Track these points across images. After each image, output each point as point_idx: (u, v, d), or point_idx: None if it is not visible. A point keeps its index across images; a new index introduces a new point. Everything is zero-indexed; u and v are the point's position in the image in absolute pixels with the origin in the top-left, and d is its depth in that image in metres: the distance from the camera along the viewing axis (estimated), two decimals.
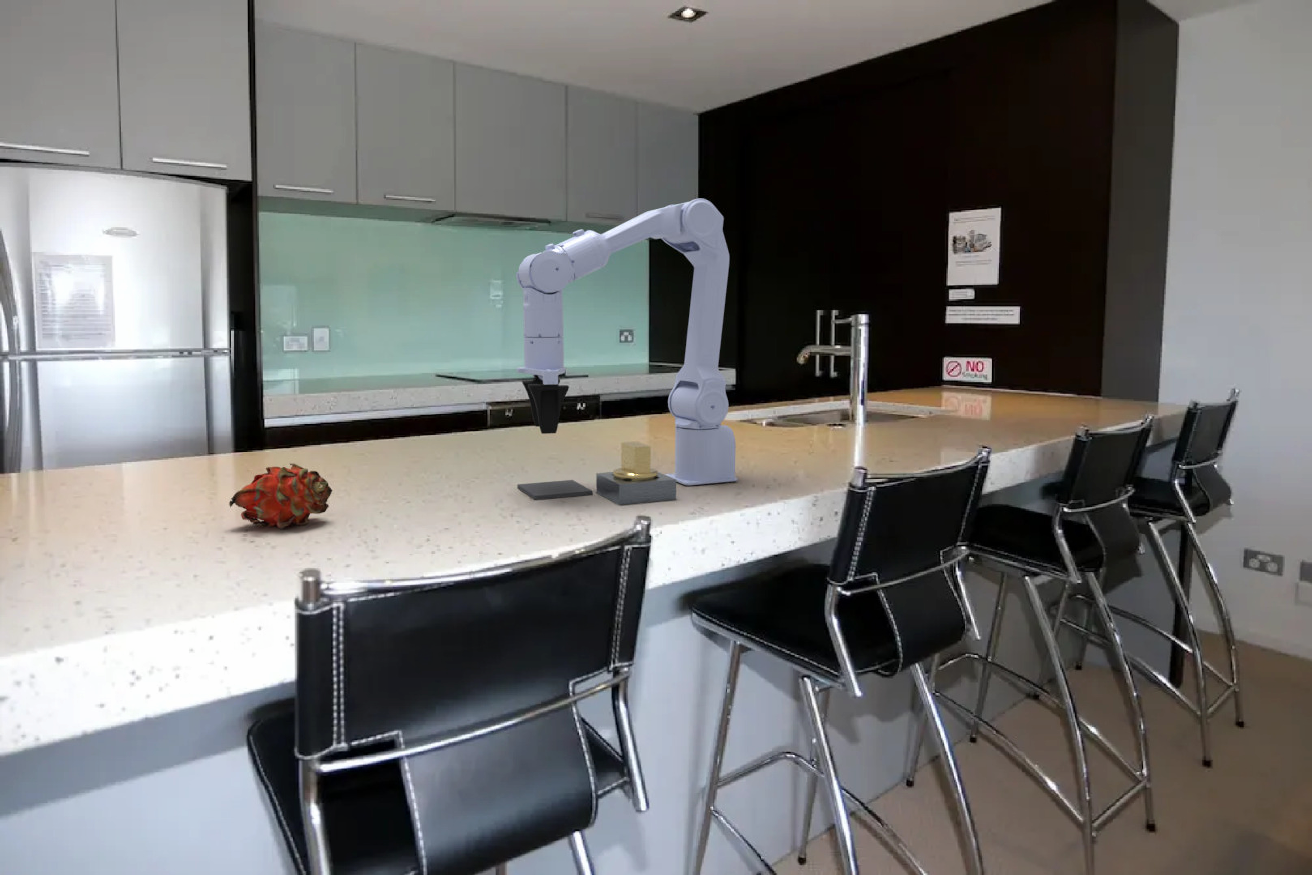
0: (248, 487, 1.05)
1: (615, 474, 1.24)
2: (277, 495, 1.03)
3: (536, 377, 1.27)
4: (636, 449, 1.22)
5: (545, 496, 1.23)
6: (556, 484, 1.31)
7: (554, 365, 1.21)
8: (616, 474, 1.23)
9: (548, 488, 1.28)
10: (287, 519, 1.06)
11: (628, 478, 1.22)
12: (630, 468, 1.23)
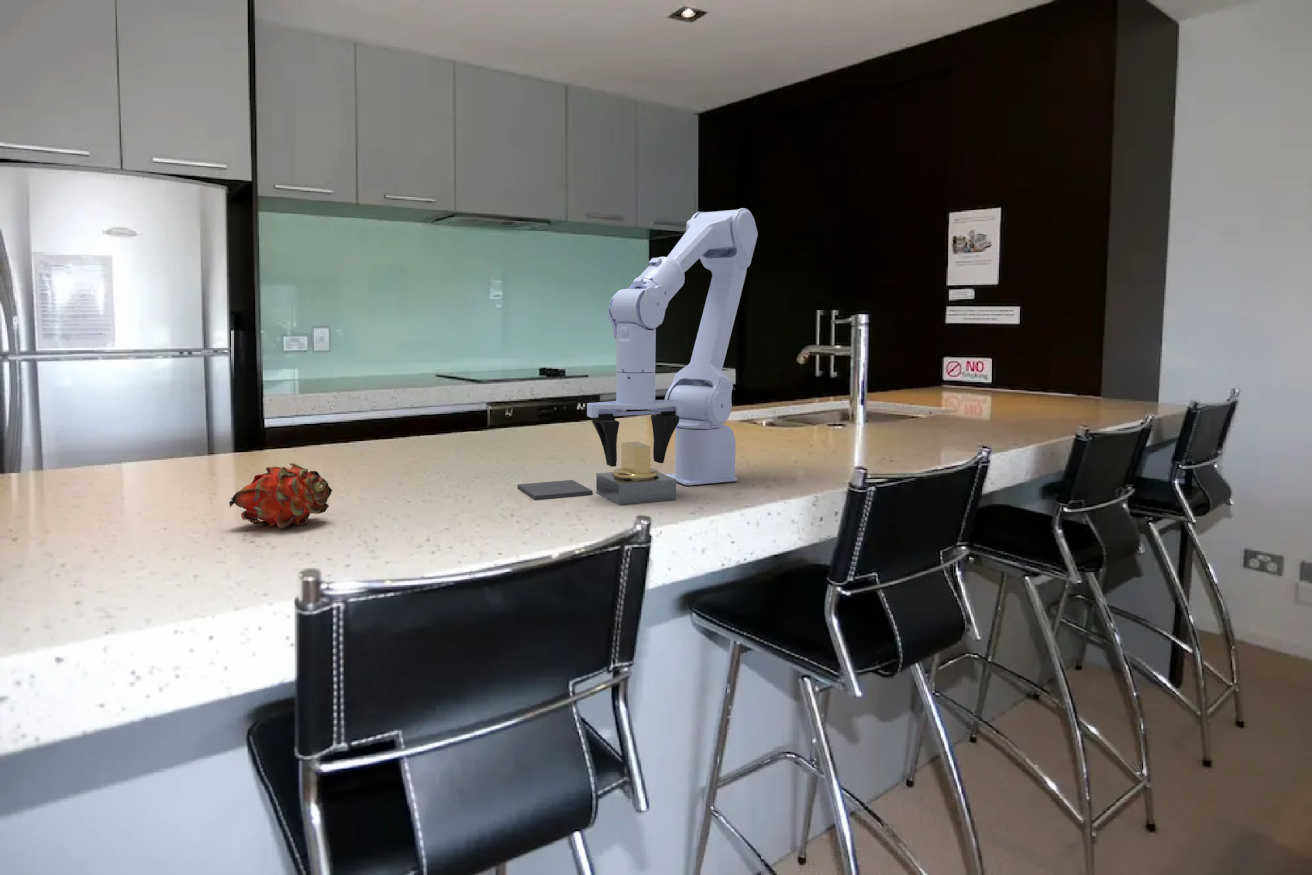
0: (248, 487, 1.05)
1: (615, 474, 1.24)
2: (277, 495, 1.03)
3: None
4: (636, 449, 1.22)
5: (545, 496, 1.23)
6: (556, 484, 1.31)
7: (622, 400, 1.21)
8: (616, 474, 1.23)
9: (548, 488, 1.28)
10: (287, 519, 1.06)
11: (628, 478, 1.22)
12: (630, 468, 1.23)
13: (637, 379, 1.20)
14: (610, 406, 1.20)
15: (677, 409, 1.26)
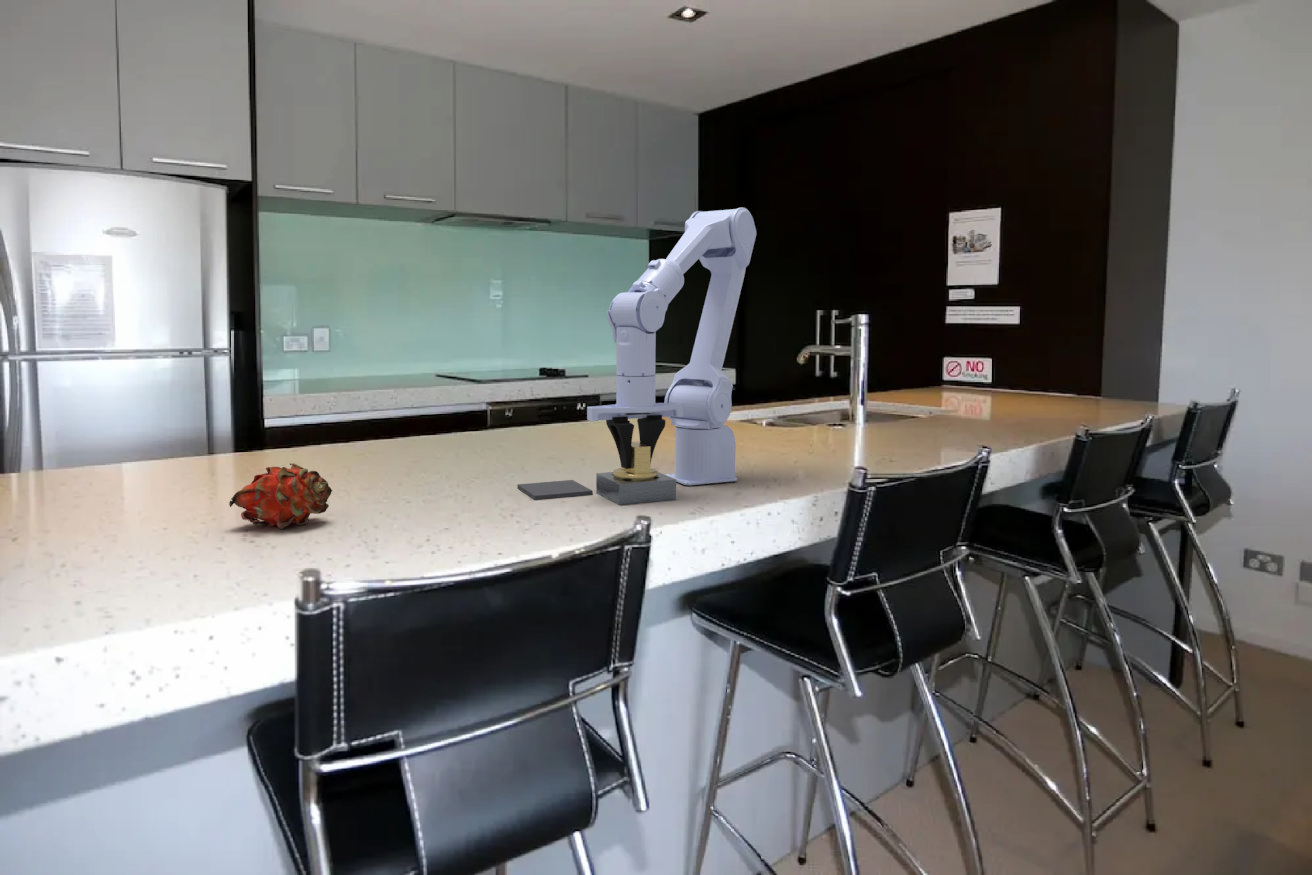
0: (248, 487, 1.05)
1: (615, 474, 1.24)
2: (277, 495, 1.03)
3: None
4: (636, 449, 1.22)
5: (545, 496, 1.23)
6: (556, 484, 1.31)
7: (622, 404, 1.21)
8: (616, 474, 1.23)
9: (548, 488, 1.28)
10: (287, 519, 1.06)
11: (628, 478, 1.22)
12: None
13: (637, 382, 1.20)
14: (610, 410, 1.20)
15: (677, 412, 1.26)
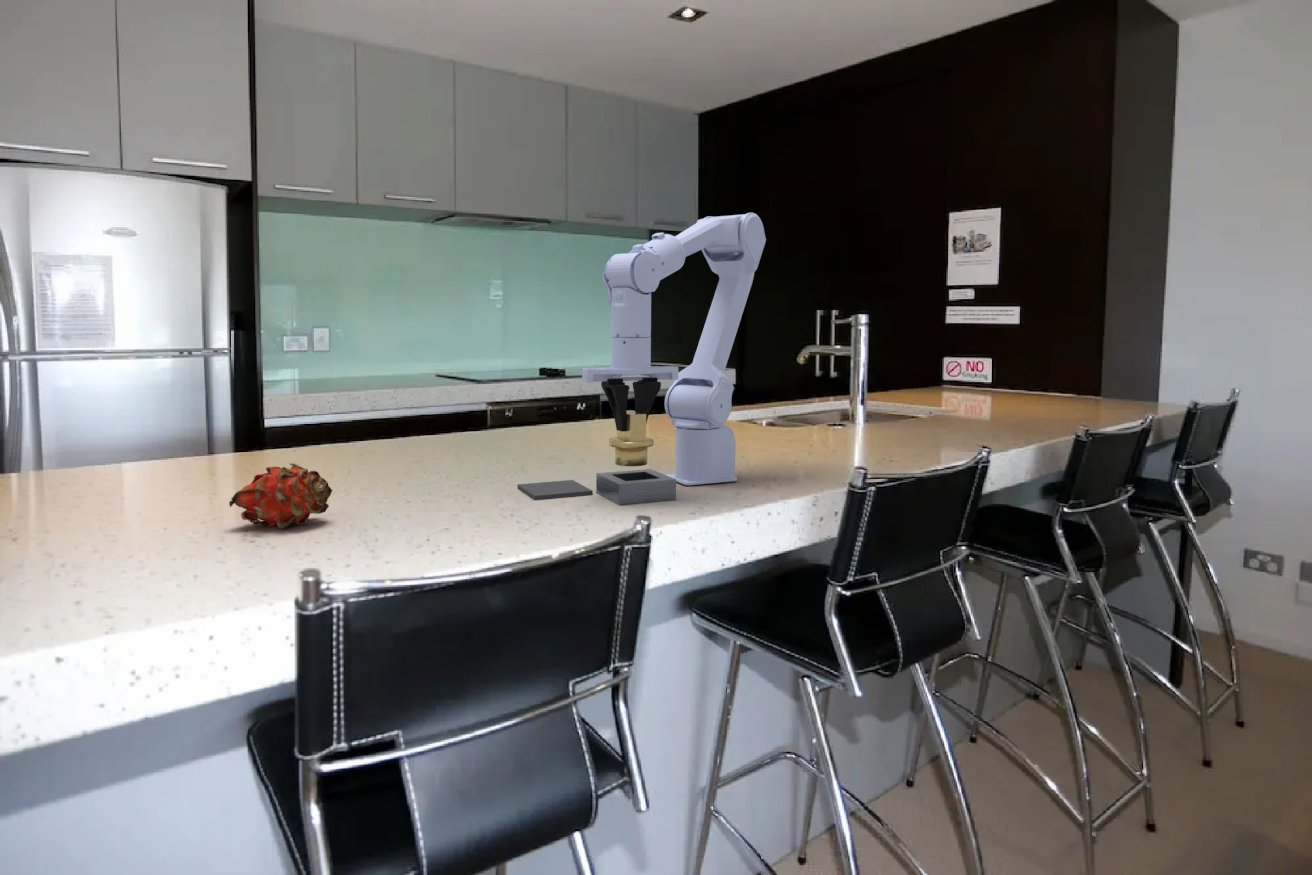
0: (248, 487, 1.05)
1: (611, 442, 1.23)
2: (277, 495, 1.03)
3: None
4: (631, 417, 1.21)
5: (545, 496, 1.23)
6: (556, 484, 1.31)
7: (618, 365, 1.21)
8: (612, 442, 1.23)
9: (548, 488, 1.28)
10: (287, 519, 1.06)
11: (624, 446, 1.21)
12: (626, 436, 1.23)
13: (632, 344, 1.20)
14: (605, 371, 1.20)
15: (673, 375, 1.25)
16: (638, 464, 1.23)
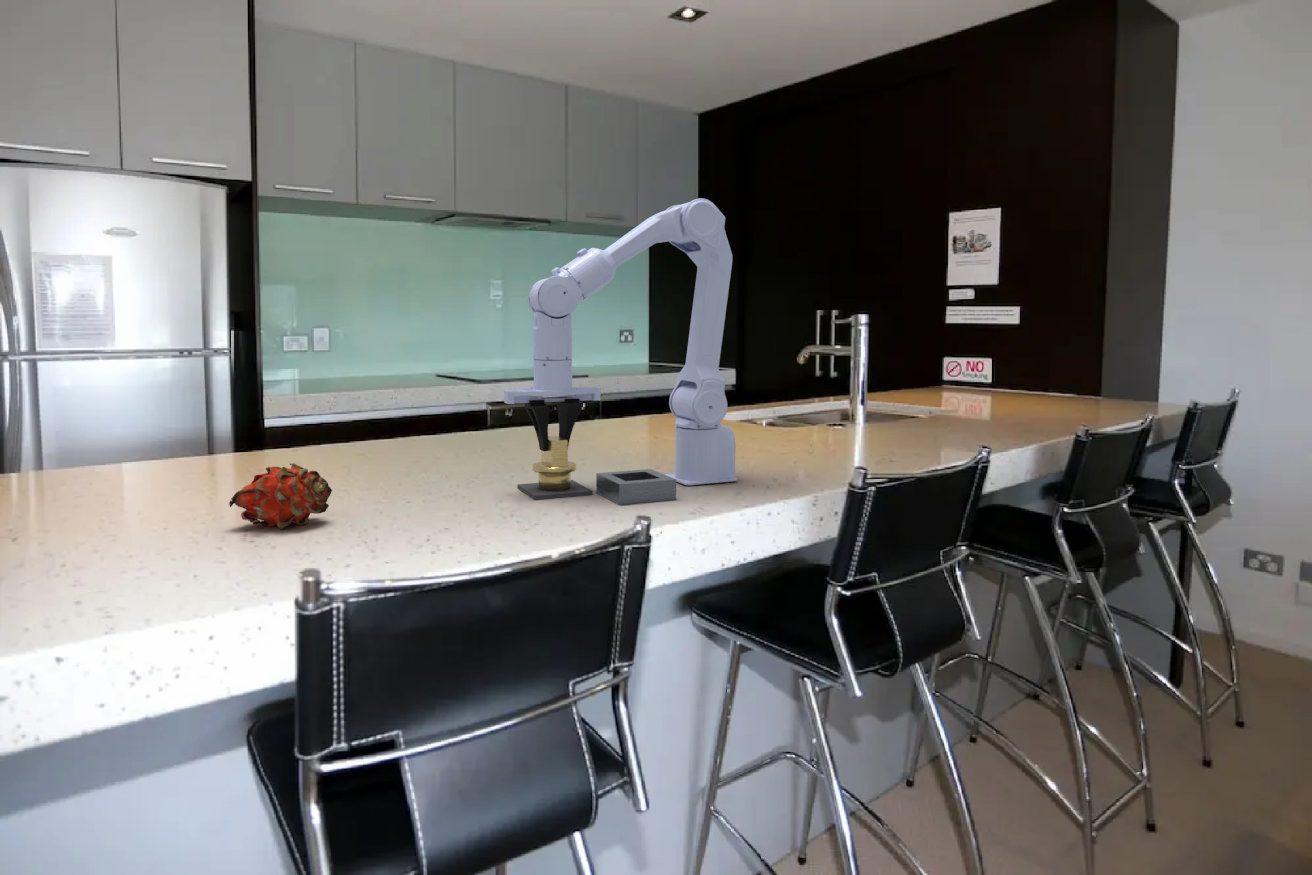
0: (248, 487, 1.05)
1: (533, 467, 1.26)
2: (277, 495, 1.03)
3: None
4: (552, 443, 1.25)
5: (545, 496, 1.23)
6: None
7: (539, 387, 1.24)
8: (534, 467, 1.26)
9: None
10: (287, 519, 1.06)
11: (545, 471, 1.25)
12: (548, 461, 1.26)
13: (552, 366, 1.23)
14: (526, 393, 1.23)
15: (595, 396, 1.28)
16: (560, 489, 1.26)
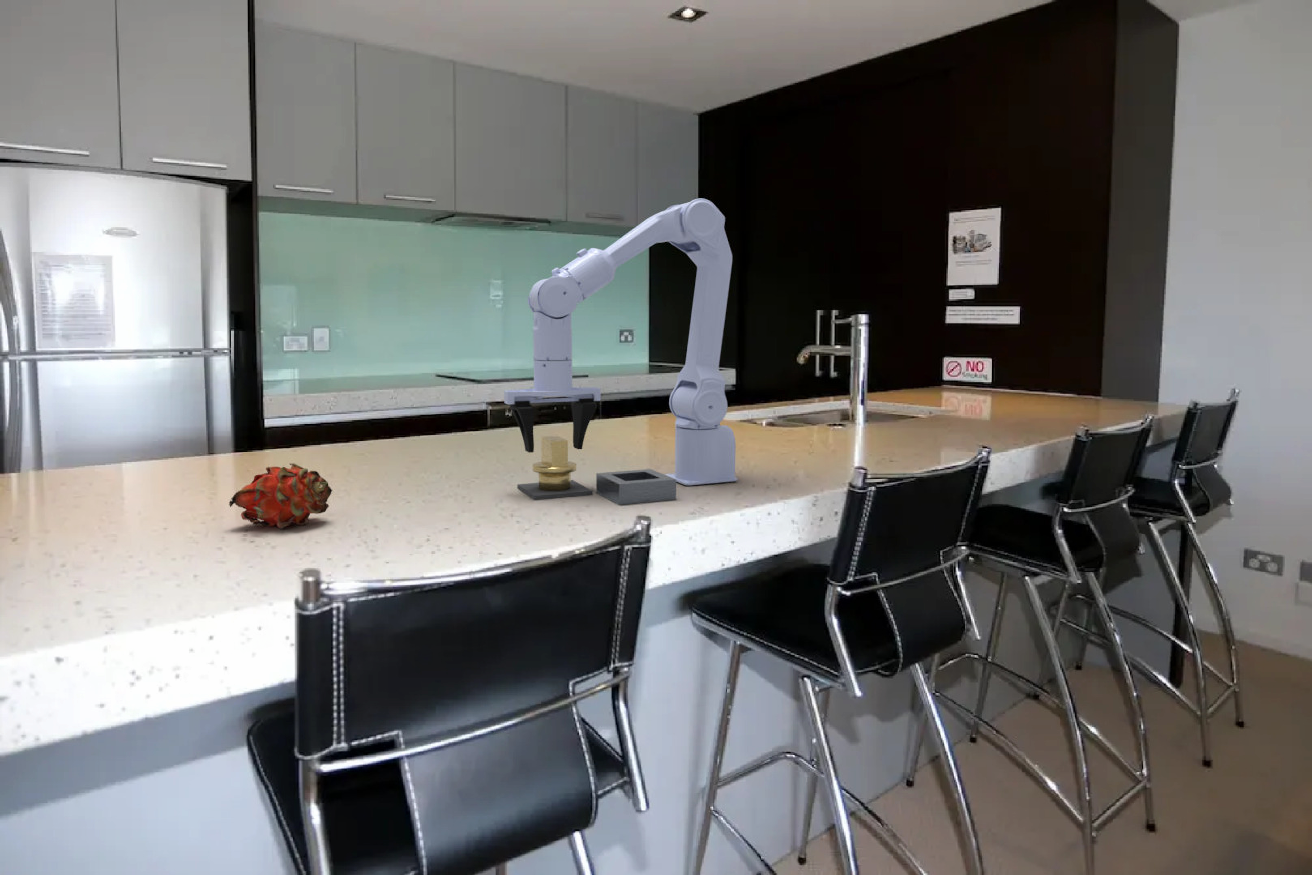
0: (248, 487, 1.05)
1: (533, 467, 1.26)
2: (277, 495, 1.03)
3: None
4: (552, 443, 1.24)
5: (545, 496, 1.23)
6: None
7: (539, 387, 1.24)
8: (534, 467, 1.26)
9: None
10: (287, 519, 1.06)
11: (545, 471, 1.25)
12: (548, 462, 1.26)
13: (552, 367, 1.23)
14: (526, 393, 1.23)
15: (595, 396, 1.28)
16: (560, 489, 1.26)
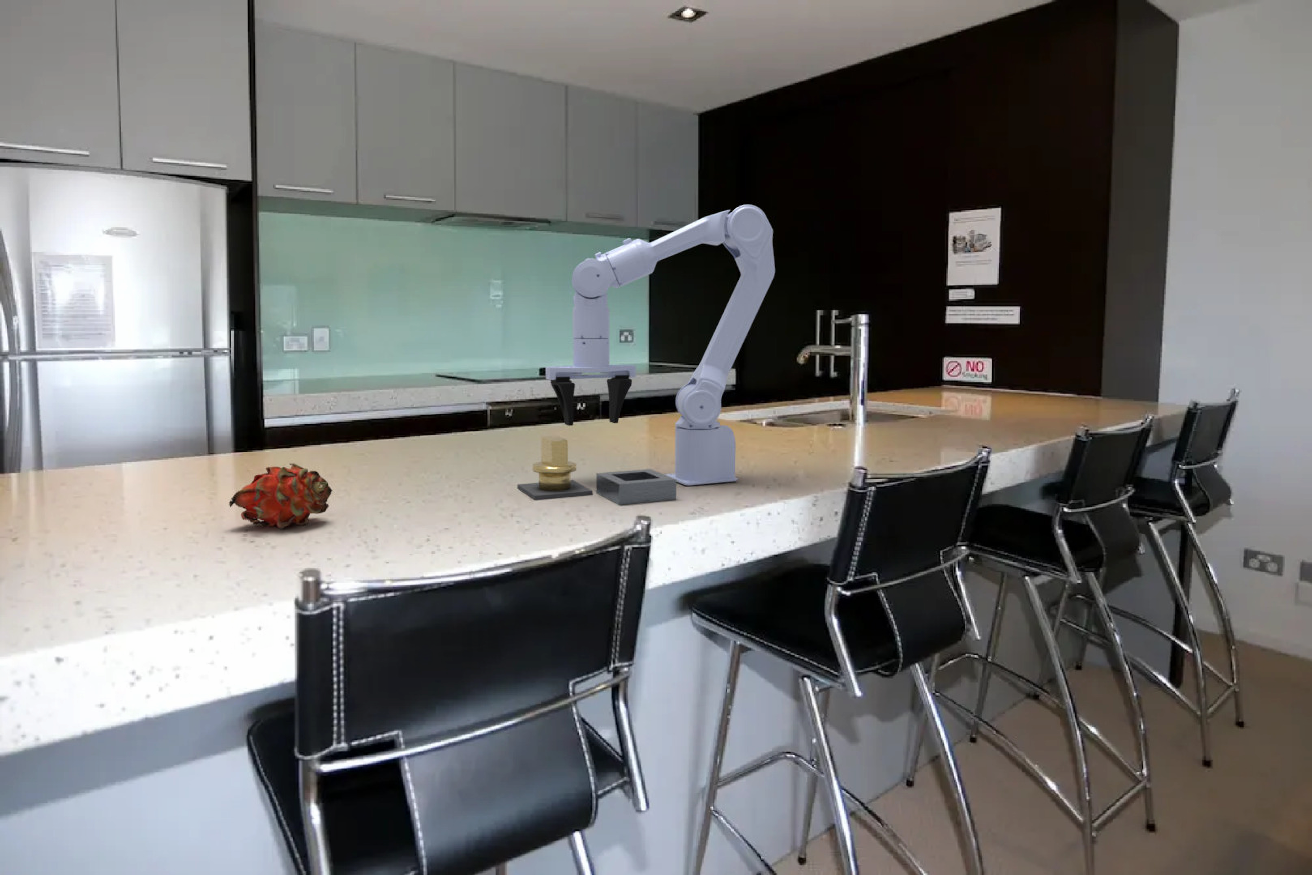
0: (248, 487, 1.05)
1: (533, 467, 1.26)
2: (277, 495, 1.03)
3: None
4: (552, 443, 1.24)
5: (545, 496, 1.23)
6: None
7: (578, 364, 1.31)
8: (534, 467, 1.26)
9: None
10: (287, 519, 1.06)
11: (545, 471, 1.25)
12: (548, 462, 1.26)
13: (591, 344, 1.30)
14: (566, 369, 1.30)
15: (630, 373, 1.36)
16: (560, 489, 1.26)
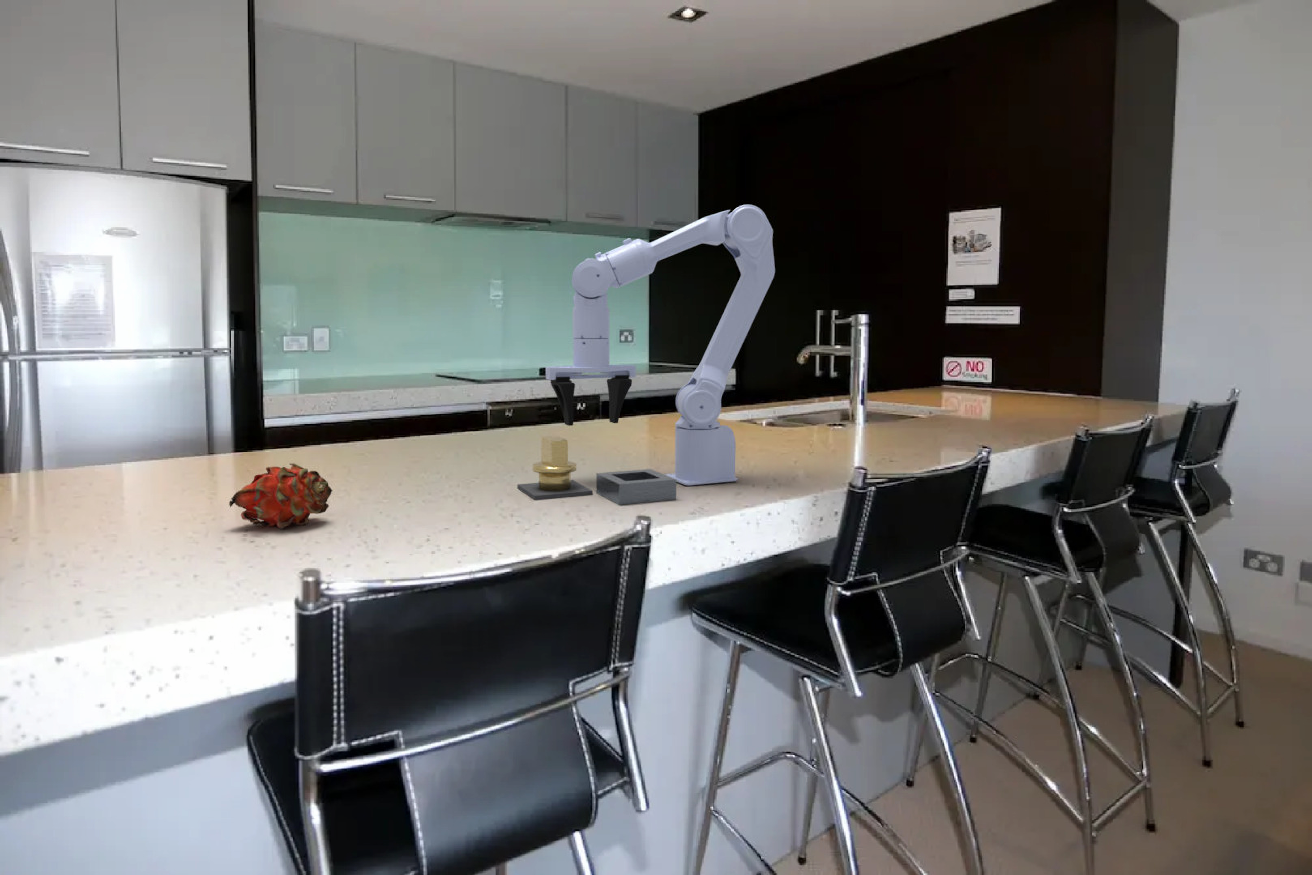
0: (248, 487, 1.05)
1: (533, 467, 1.26)
2: (277, 495, 1.03)
3: None
4: (552, 443, 1.24)
5: (545, 496, 1.23)
6: None
7: (578, 364, 1.31)
8: (534, 467, 1.26)
9: None
10: (287, 519, 1.06)
11: (545, 471, 1.25)
12: (548, 462, 1.26)
13: (591, 344, 1.30)
14: (566, 369, 1.30)
15: (630, 373, 1.36)
16: (560, 489, 1.26)
